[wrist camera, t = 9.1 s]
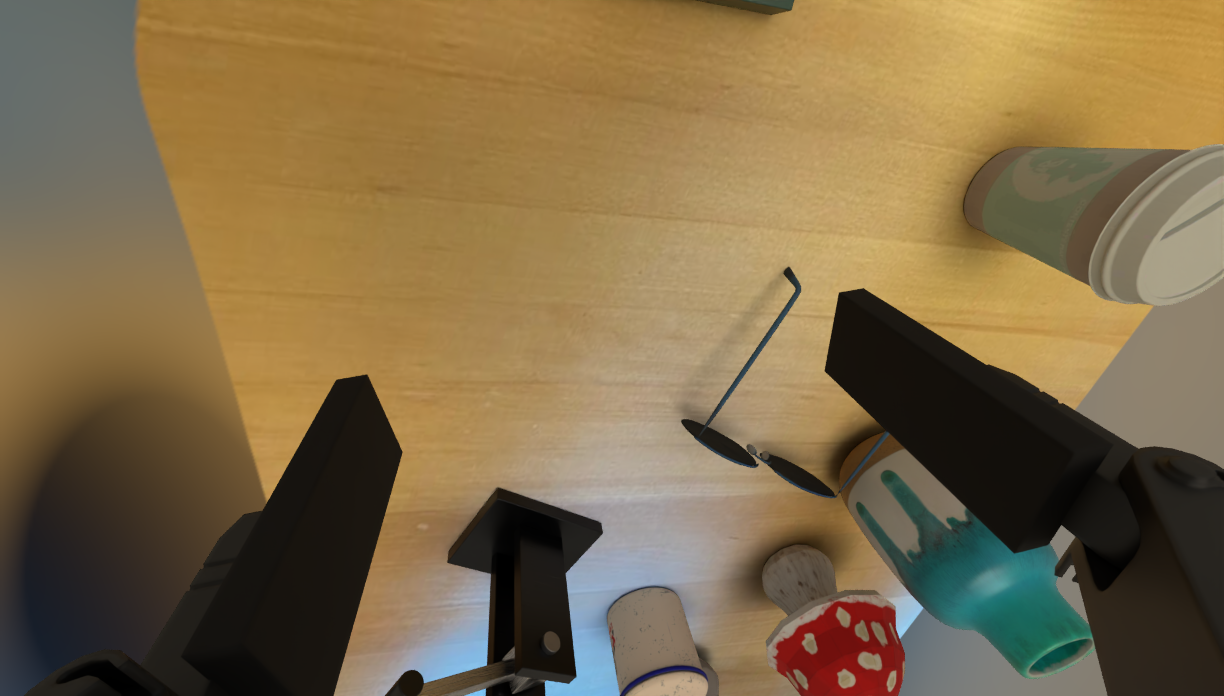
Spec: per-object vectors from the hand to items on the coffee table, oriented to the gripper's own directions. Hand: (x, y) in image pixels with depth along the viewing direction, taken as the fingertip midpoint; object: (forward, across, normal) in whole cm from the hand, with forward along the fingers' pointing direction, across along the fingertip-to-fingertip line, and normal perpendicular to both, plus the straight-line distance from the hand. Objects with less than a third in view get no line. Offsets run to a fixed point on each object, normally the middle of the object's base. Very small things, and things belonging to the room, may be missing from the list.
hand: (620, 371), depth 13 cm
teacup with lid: (+18, +3, -47) cm, 51 cm away
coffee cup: (+19, +32, -3) cm, 37 cm away
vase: (+18, +27, -28) cm, 43 cm away
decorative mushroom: (+18, +20, -44) cm, 51 cm away
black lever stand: (+18, -8, -30) cm, 36 cm away
